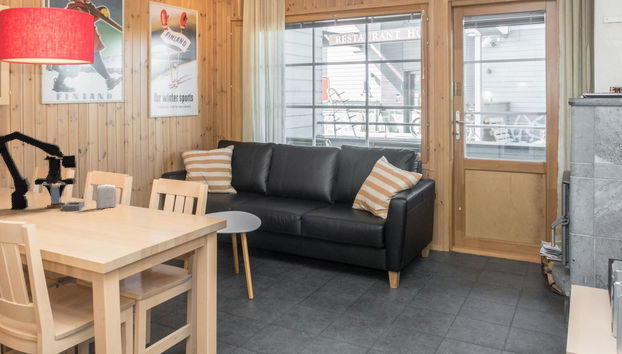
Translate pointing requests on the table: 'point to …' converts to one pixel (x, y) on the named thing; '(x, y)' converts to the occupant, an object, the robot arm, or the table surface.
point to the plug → (55, 194)
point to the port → (73, 206)
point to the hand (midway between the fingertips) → (56, 197)
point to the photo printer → (105, 196)
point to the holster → (55, 205)
